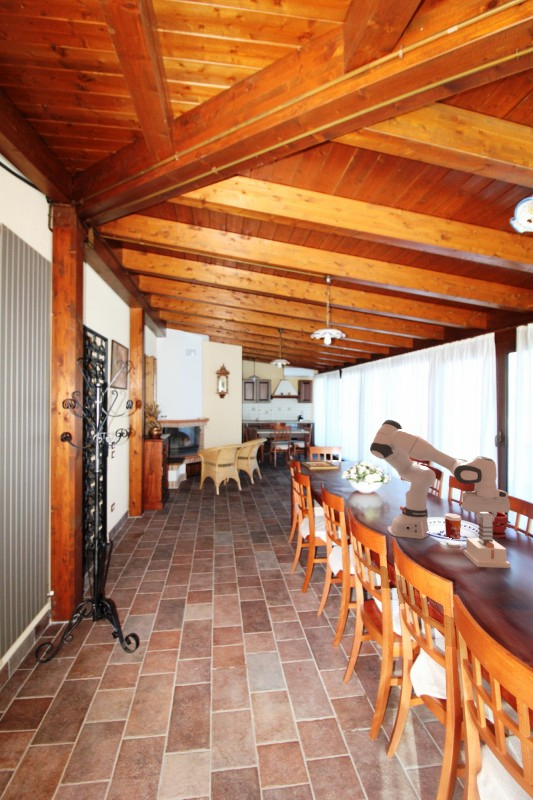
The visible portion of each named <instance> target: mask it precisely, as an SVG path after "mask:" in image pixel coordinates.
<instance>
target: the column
mask: <svg viewBox="0 0 533 800" xmlns="http://www.w3.org/2000/svg"><path fill="white" fill-rule="evenodd" d="M479 516H480V517H482V521H478V528H477V529H478V538H477V539H479V543H480V544H481V545H482V546H486V542H489V543H492V541H493V540H494V539H493V538H494V537H493V535H492V533H493V531H492V529H493V527H492V514H490V513H489V512H480V514H479ZM492 539H493V540H492Z"/></svg>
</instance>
